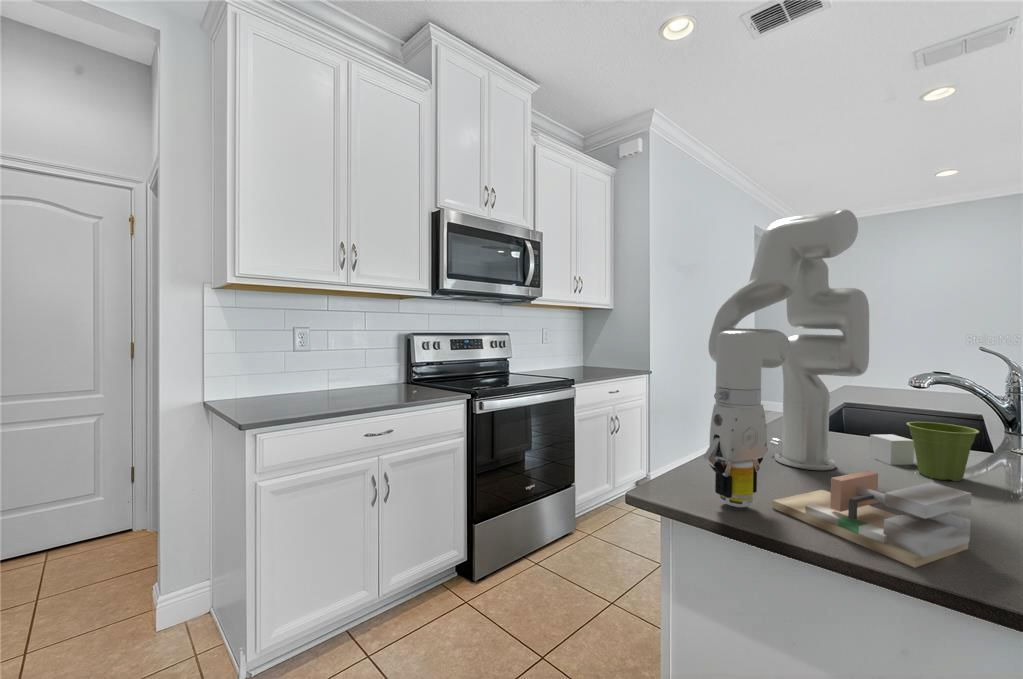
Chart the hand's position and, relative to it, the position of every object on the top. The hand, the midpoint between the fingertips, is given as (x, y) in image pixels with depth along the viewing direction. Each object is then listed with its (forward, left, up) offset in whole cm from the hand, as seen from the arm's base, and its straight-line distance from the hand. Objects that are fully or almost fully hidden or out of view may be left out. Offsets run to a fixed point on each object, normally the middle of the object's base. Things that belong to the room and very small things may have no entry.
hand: (735, 491), depth 84 cm
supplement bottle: (0, 0, -2) cm, 2 cm away
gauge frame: (+14, +13, -3) cm, 19 cm away
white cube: (-6, +60, -3) cm, 60 cm away
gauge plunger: (+20, +12, 0) cm, 23 cm away
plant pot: (+5, +57, -3) cm, 57 cm away
